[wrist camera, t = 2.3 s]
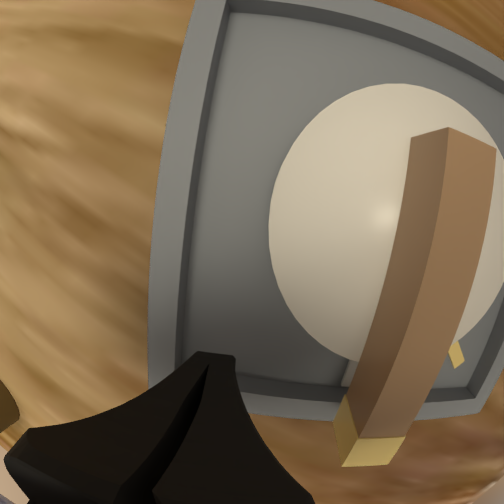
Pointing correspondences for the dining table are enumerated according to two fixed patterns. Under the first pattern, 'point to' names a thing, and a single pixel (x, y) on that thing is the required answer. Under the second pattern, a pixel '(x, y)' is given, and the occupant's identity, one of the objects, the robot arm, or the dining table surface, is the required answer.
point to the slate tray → (262, 184)
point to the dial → (388, 248)
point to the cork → (7, 408)
